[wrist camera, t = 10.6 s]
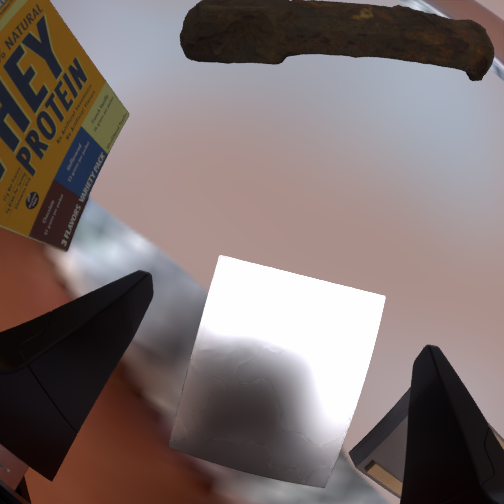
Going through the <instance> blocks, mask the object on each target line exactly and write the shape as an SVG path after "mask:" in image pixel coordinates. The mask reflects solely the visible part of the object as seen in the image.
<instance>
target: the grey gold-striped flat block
mask: <svg viewBox="0 0 504 504" xmlns="http://www.w3.org/2000/svg"><path fill="white" fill-rule="evenodd" d="M410 389H411V387H410V388H409V390H408V391H407V392H406V393H405V394H404V395H403V396H402V398H401V399H400V400H399V401H398V402H397V404H396V405H395V406H394V407H393V408H392V409H391V410H390V411H389V412H388V413H387V414H386V416H385V417H384V418H383V419H382V420H381V421H380V422H379V423H378V424H377V425H376V426H375V427H374V428H373V429H372V430H371V431H370V432H369V433H368V434H367V435H366V436H365V437H364V438H363V439H362V440H361V441H360V442H359V443H358V444H357V445H356V446H355V447H354V448H353V449H352V450H351V451H350V452H349V455H350V457H351V459H352V461H353V463H354V465H355V467H356V468H357V469H358V470H360V471H361V472H362V473H364V474H365V475H366V476H368V477H369V478H371V479H372V480H373V481H375V482H376V483H378V484H379V485H381V486H382V487H383V488H385V489H386V490H388V491H389V492H391V493H392V494H394V495H395V496H397V497H398V498H400V499H401V493H402V485H403V476H404V467H405V456H406V443H407V426H408V406H409V398H410ZM488 424H489V423H488ZM489 426H490V427H491V429H492V431H493V433H494V434H495V436H496V438H497V439H498V441H499V443H500V444H501V446H502V448H503V449H504V439H503V438H502V437H501V436H500V435H499V434H498V433H497V432H496V431H495V430H494V428H493V427H492V426H491V425H490V424H489Z"/></svg>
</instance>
